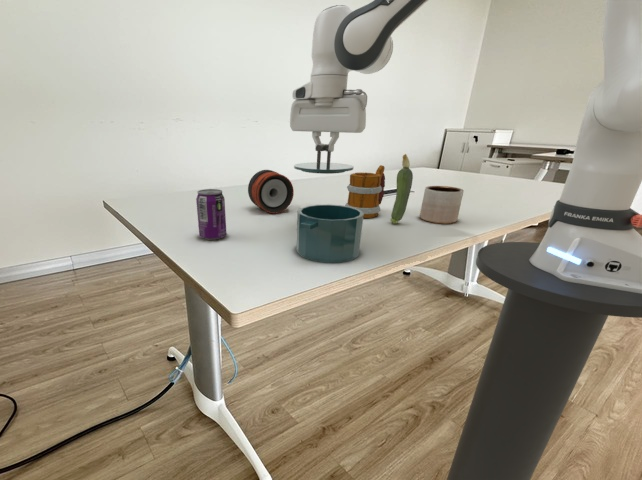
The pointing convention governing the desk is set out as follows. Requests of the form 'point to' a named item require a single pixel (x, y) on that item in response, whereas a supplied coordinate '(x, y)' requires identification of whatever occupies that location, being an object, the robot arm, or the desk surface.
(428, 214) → the planter
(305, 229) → the pot
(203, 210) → the beverage can
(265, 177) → the oil filter
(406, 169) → the vegetable
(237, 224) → the desk surface
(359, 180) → the mug
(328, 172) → the lid
